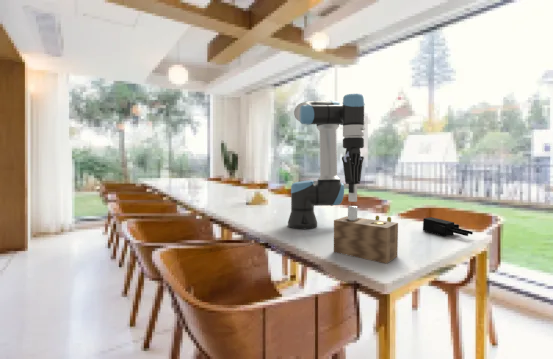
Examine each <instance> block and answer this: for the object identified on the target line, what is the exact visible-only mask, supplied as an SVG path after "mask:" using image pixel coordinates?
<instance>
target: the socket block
mask: <svg viewBox="0 0 553 359" xmlns="http://www.w3.org/2000/svg"><path fill="white" fill-rule="evenodd" d="M374 222H383V223H384V225H376V224H373V223H374ZM398 237H399V223H398V222H393V221H391V222H387V220H385V221H384V220H380V219H379V220H376V219H371V218H370V219H369V218H364V217H363V218H362V217H357V221H348V215H347V216H344V217H341V218H337V219H334V220H333V253H336V252H337V253H338V254H341V253H342V254H341V255H345V254H347V256H350V255H351V257H354V256H355V257H356V258H359V259H365V260H368V261H371V262H372V261H373V262H378V263H382V264H389V263H390V262H391V261H392V260H394V259H395V258H398V248H399V246H398V245H399V242H398V241H399V238H398ZM337 253H336V254H337ZM355 257H354V258H355Z"/></svg>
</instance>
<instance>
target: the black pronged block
mask: <svg viewBox="0 0 553 359" xmlns="http://www.w3.org/2000/svg"><path fill="white" fill-rule="evenodd" d="M422 221H423V222H422V231H423V232H428V233H431V234H434V235H438V236H442V237H450V236H454V234H457V235H462V236H465V237H468V236H469V235H474V231H471V230H467V229H462V228H460V224H457V223H455V221H449V220H445V219H441V218H436V217H432V216H431V217H424V218H423V220H422Z"/></svg>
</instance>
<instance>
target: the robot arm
mask: <svg viewBox="0 0 553 359" xmlns="http://www.w3.org/2000/svg"><path fill="white" fill-rule="evenodd" d="M342 98H343V99H342V104H341V103H340V102H339V101H338V100H330V99H329V100H308V101H303V102H300V103H298V104H297V105H296V106H295V108H294V111H293V113H294V118H295V119H296V120H297V121H298V122H299V123H300V124H301V125H308V126H309V125H316V129H318V131H319V168H320V169H319V173H320V175H319V177H318V179H317V182H315V181H314V180H312V179H311V180H310V179H309V180H308V179H307V180H301V181H296V182H293V183H292V184H291V185H290V187H291V188H290V198H291V200H290V204H291V205H290V209H291V211H290V215H289V218H288V220H287V227H288V228H290V229H295V230H296V229H297V230H310V229H311V230H312V229H315V228H317V227H318V221H317V216H316V213H315V209H314V208H315V206H318V207H319V206H320V207H321V206H331V207H332V206H339V205H341V204H342V202H343V200H344V194H345V185H344V183H343V182H341V178H340V177H338V157H337V156H338V155H337V153H338V150H337V130H338V129H339V128H340V126H342V137H343V139H342V148H343V149H345V155H344V156H341V161H342V166H343V173H344V182H345V184H347V185H348V202H352V203H356V202H358V185H360V184H361V178H362V170H363V162H364V160H365V157H364V156H361V149H363V148H364V147H365V139H364V136H365V134H364V133H365V130H366V128H365V106H366V104H365V96H364V95H363V94H362V93H348V94H345V95H344V96H343V97H342Z"/></svg>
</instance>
